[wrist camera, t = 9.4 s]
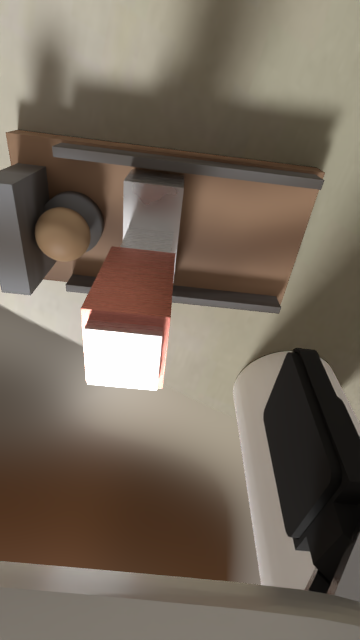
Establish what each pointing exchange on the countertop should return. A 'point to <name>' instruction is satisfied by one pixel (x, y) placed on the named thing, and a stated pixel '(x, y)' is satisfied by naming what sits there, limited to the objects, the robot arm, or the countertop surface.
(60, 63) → the countertop surface
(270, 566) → the cylinder container
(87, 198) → the nutcracker board
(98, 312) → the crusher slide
